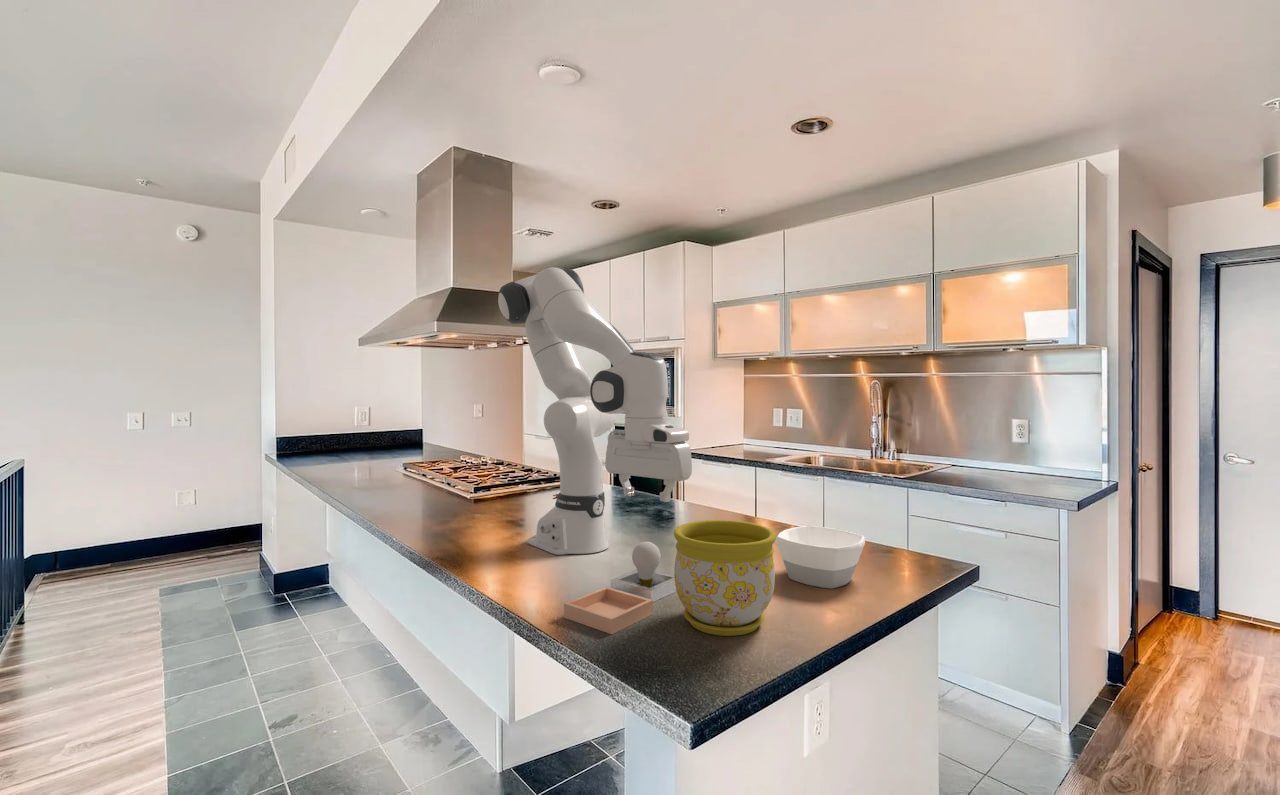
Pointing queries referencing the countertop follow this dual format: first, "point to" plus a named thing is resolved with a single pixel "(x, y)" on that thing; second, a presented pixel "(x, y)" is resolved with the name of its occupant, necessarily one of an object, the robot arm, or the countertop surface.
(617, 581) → the socket collar
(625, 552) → the countertop surface
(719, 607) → the flowerpot
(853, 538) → the bowl
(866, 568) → the countertop surface
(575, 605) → the tray
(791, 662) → the countertop surface
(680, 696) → the countertop surface
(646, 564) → the light bulb
